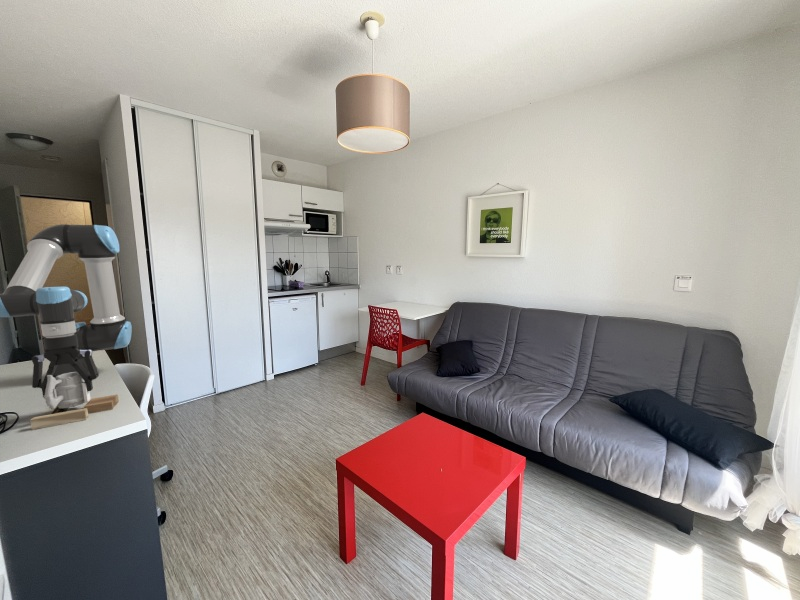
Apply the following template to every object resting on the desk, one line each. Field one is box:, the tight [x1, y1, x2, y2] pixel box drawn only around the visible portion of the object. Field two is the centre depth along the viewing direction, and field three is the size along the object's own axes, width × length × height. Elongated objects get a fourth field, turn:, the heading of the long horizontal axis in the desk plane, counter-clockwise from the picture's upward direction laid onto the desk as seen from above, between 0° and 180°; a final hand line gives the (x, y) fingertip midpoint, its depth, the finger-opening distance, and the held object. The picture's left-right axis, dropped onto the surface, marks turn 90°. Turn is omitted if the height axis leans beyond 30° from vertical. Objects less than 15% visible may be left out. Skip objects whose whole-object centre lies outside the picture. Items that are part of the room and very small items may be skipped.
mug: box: [43, 372, 86, 410], centre depth 105 cm, size 8×12×12 cm, turn 2°
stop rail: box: [29, 407, 89, 430], centre depth 99 cm, size 2×12×3 cm, turn 118°
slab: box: [83, 394, 119, 415], centre depth 110 cm, size 7×7×3 cm
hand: (70, 403), depth 106 cm, fingers open, 8 cm apart
